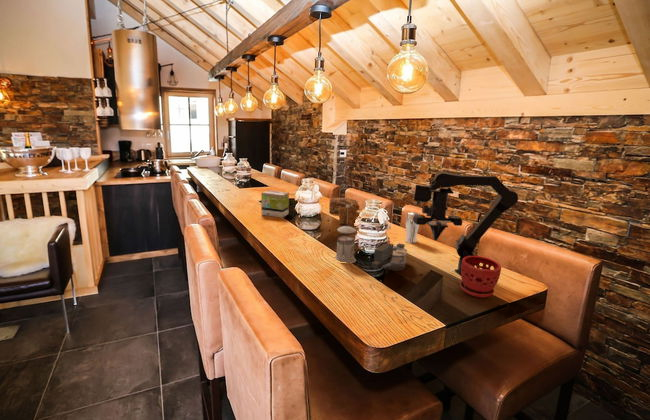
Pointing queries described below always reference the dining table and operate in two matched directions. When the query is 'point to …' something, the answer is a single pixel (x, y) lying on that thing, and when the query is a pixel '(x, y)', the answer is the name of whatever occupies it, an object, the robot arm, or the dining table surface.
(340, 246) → the french press
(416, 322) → the dining table surface
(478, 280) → the plant pot
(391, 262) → the pot
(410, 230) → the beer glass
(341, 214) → the stuffed squirrel
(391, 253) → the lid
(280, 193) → the tea box
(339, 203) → the bread
